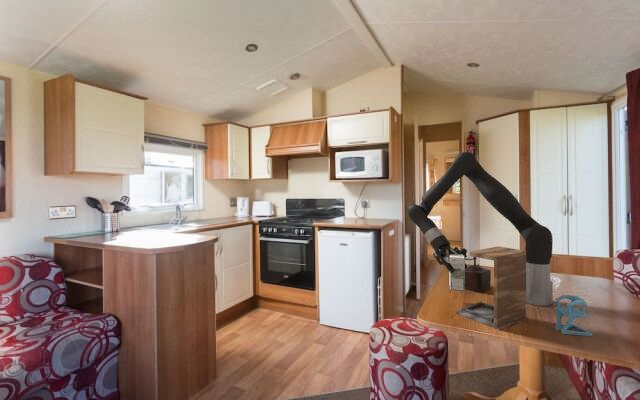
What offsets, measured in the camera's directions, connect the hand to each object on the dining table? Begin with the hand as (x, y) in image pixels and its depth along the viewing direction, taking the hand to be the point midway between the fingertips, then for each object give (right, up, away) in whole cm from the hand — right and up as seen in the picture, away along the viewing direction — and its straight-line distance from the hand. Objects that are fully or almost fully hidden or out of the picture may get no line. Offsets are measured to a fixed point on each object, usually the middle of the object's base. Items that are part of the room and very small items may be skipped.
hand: (459, 270), depth 130 cm
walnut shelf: (+7, -15, -11) cm, 20 cm away
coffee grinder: (+15, -14, +22) cm, 30 cm away
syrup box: (0, -9, +2) cm, 9 cm away
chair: (+26, -15, -25) cm, 40 cm away
